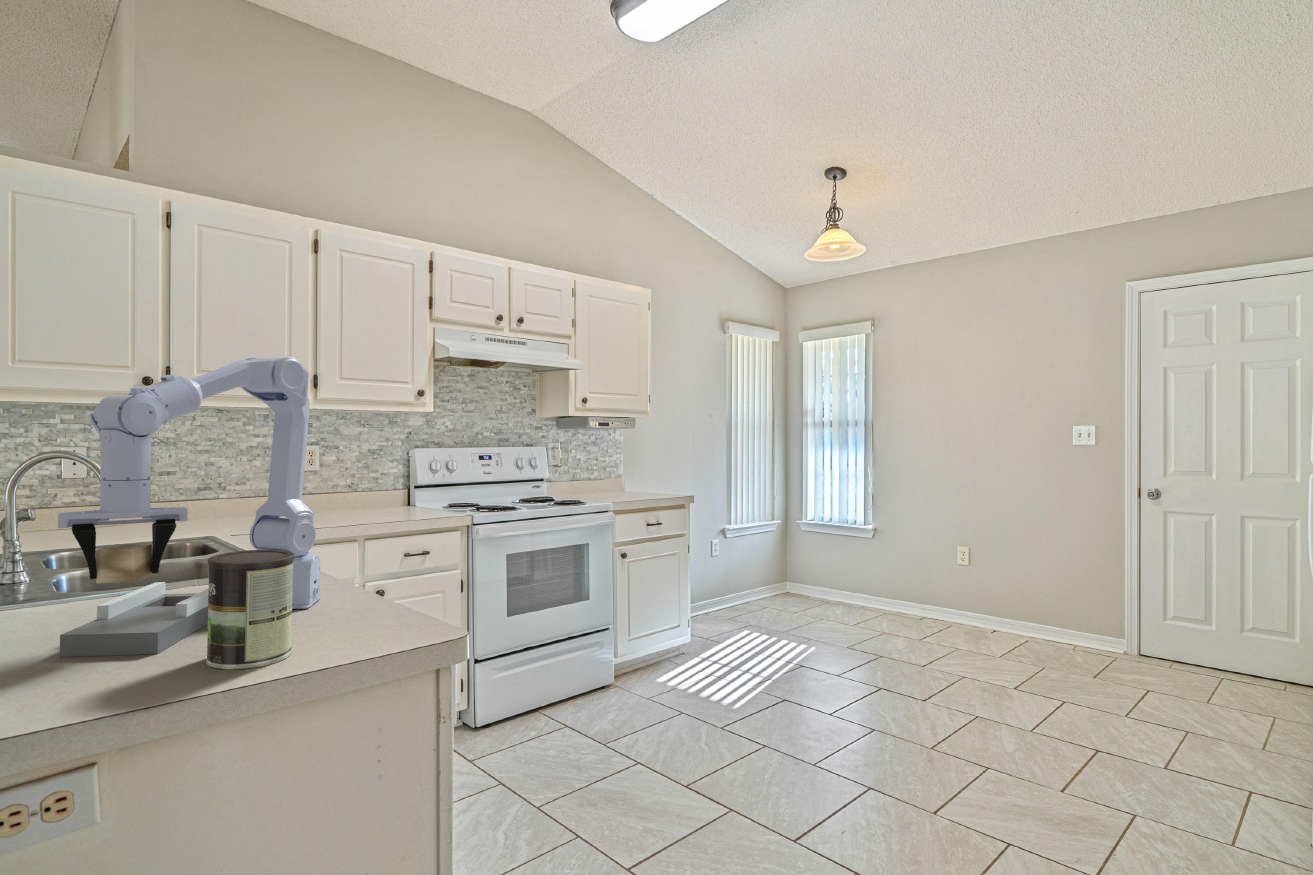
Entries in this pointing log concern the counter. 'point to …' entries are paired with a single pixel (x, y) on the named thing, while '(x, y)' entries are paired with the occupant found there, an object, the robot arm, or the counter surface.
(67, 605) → the counter surface
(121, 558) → the block
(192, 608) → the grey railed base
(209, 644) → the coffee can
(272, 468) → the robot arm
